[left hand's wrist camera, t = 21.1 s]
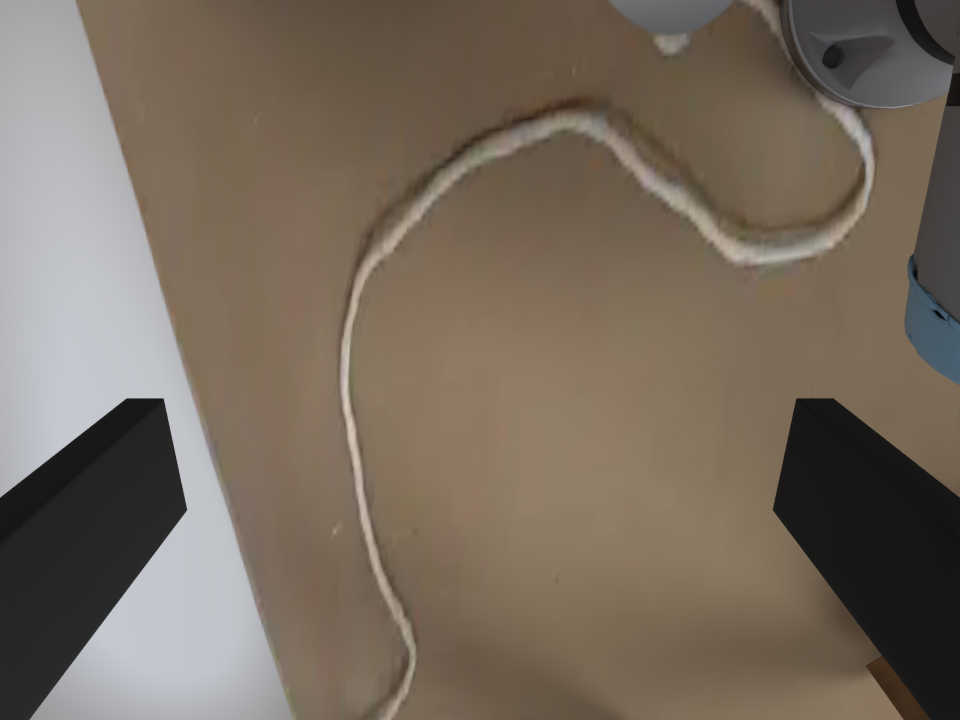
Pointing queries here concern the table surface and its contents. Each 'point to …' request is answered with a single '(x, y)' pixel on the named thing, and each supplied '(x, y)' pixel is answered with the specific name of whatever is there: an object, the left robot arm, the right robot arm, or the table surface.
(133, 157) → the table surface
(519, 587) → the table surface
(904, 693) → the bar
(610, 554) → the table surface
